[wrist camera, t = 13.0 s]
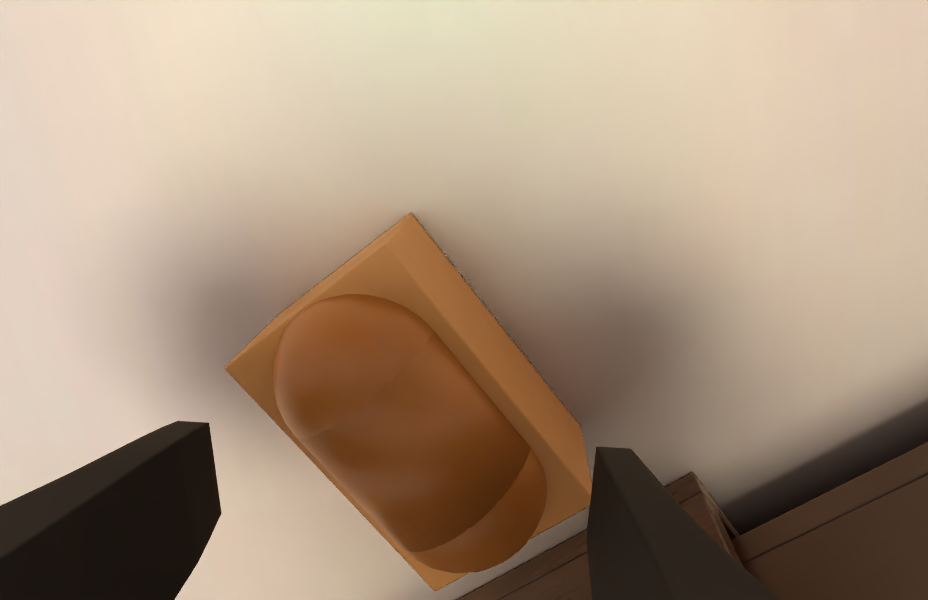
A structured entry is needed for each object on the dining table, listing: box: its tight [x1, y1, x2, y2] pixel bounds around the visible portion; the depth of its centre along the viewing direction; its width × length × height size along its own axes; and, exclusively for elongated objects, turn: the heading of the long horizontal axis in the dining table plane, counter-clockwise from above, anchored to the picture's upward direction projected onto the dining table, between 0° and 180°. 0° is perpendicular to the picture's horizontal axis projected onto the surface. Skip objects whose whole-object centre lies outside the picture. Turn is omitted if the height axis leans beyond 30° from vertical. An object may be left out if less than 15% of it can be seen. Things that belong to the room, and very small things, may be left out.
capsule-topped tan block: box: [225, 213, 592, 591], centre depth 13 cm, size 7×4×4 cm, turn 38°
